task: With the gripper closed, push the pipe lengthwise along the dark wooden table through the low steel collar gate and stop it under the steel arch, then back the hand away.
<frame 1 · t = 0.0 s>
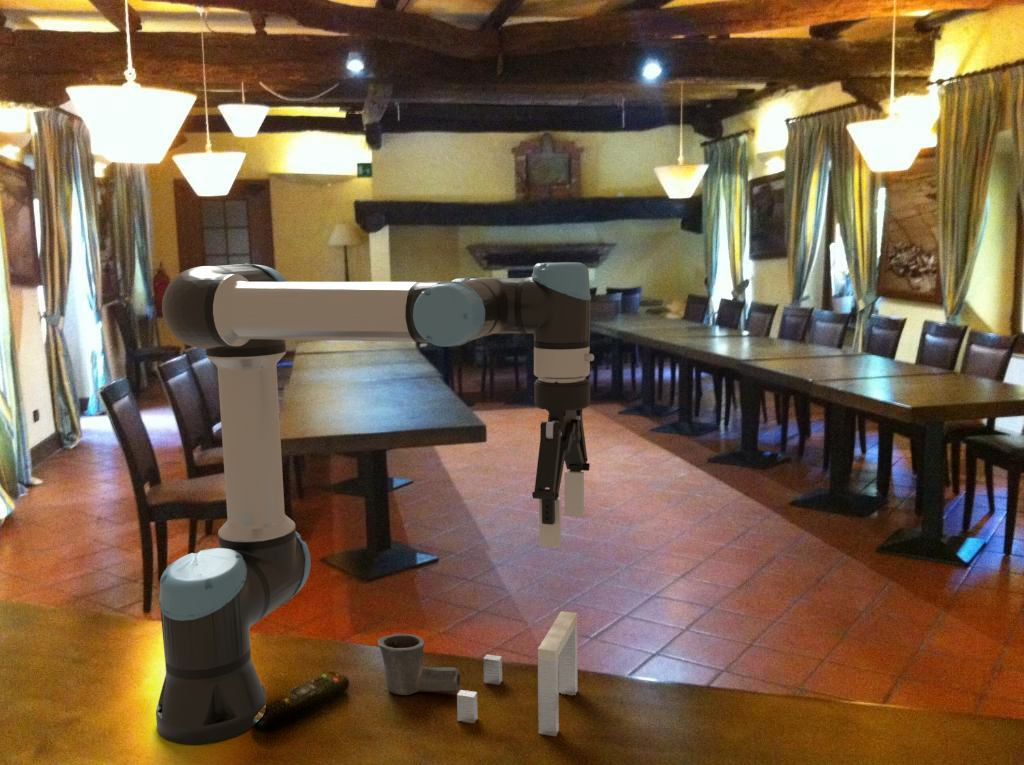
hand: (563, 530, 122), 28 cm above the table, tool pointing down, fingers open, 13 cm apart
pipe: (419, 692, 134), on the table
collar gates: (519, 705, 130), on the table
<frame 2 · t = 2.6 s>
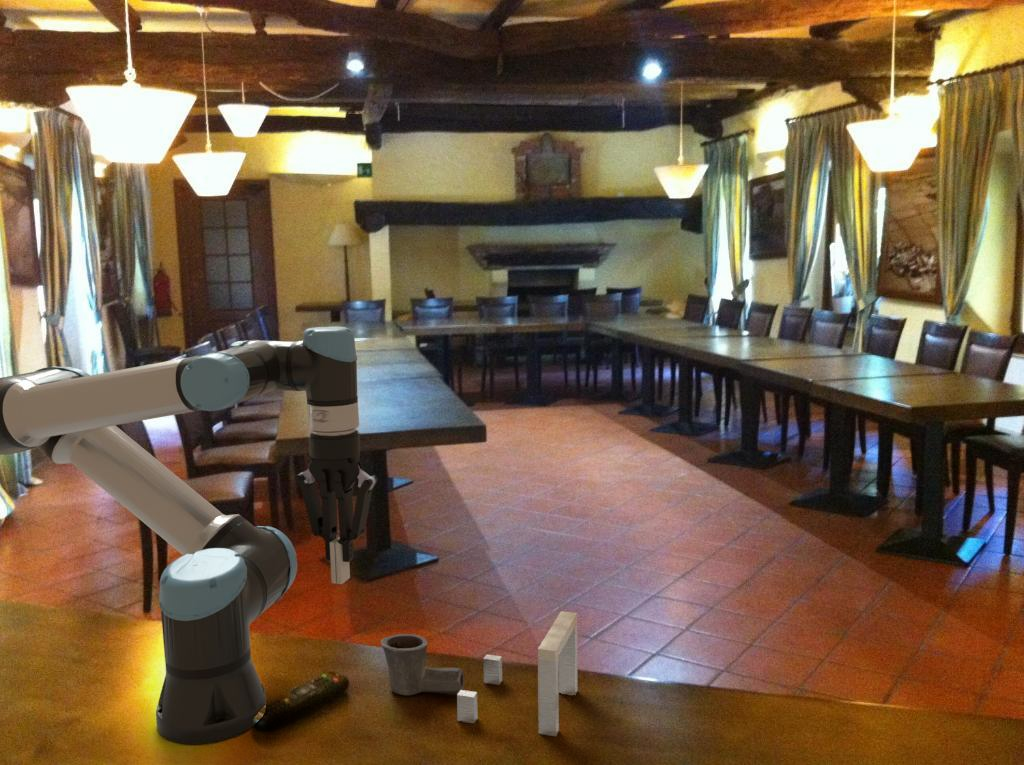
hand: (340, 580, 136), 16 cm above the table, tool pointing down, fingers closed
nothing on the table moved.
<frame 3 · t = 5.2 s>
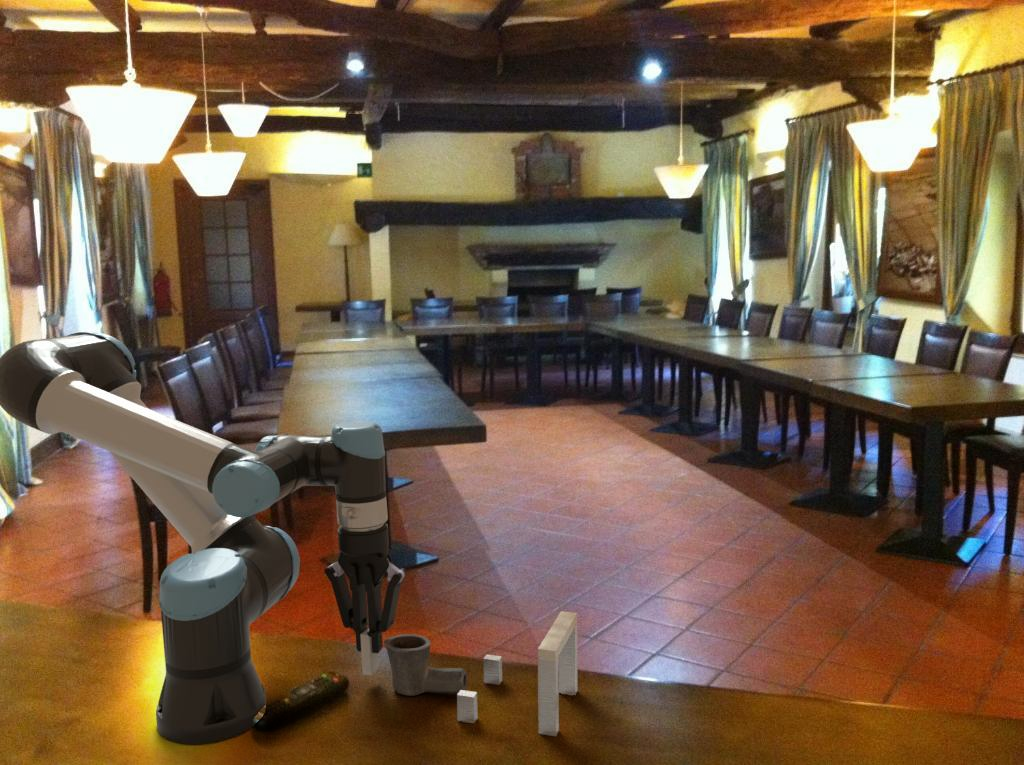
hand: (370, 670, 136), 2 cm above the table, tool pointing down, fingers closed
pipe: (425, 693, 134), on the table, touching gripper
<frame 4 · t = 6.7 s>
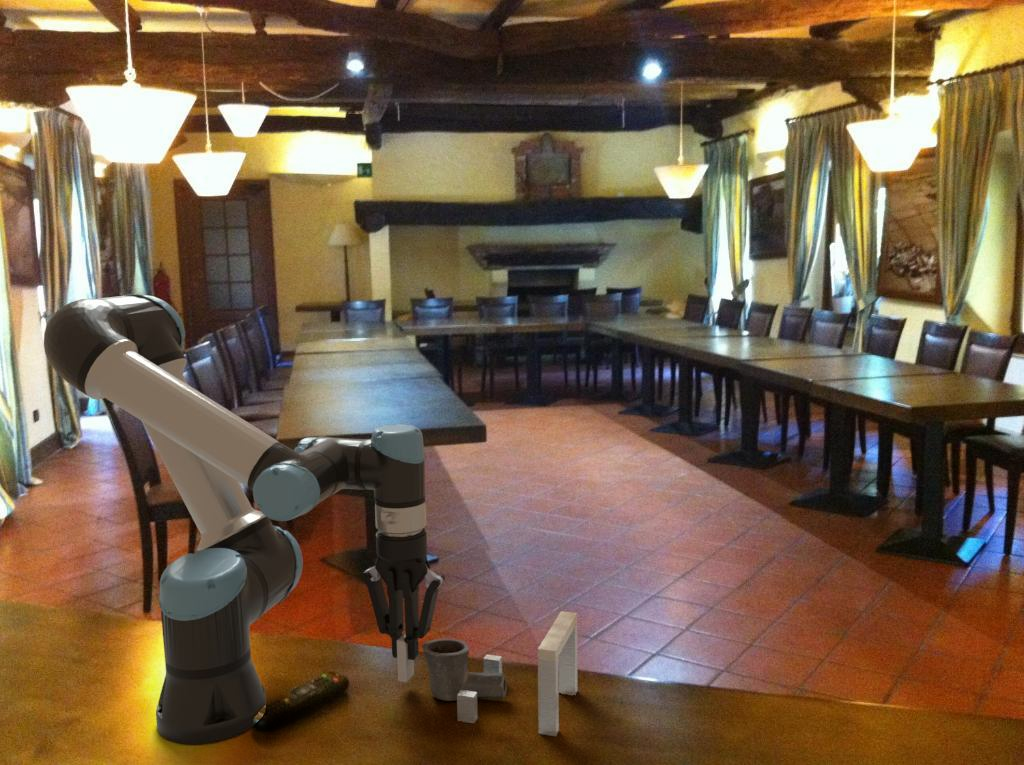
hand: (406, 677, 135), 2 cm above the table, tool pointing down, fingers closed
pipe: (464, 698, 132), on the table, touching gripper
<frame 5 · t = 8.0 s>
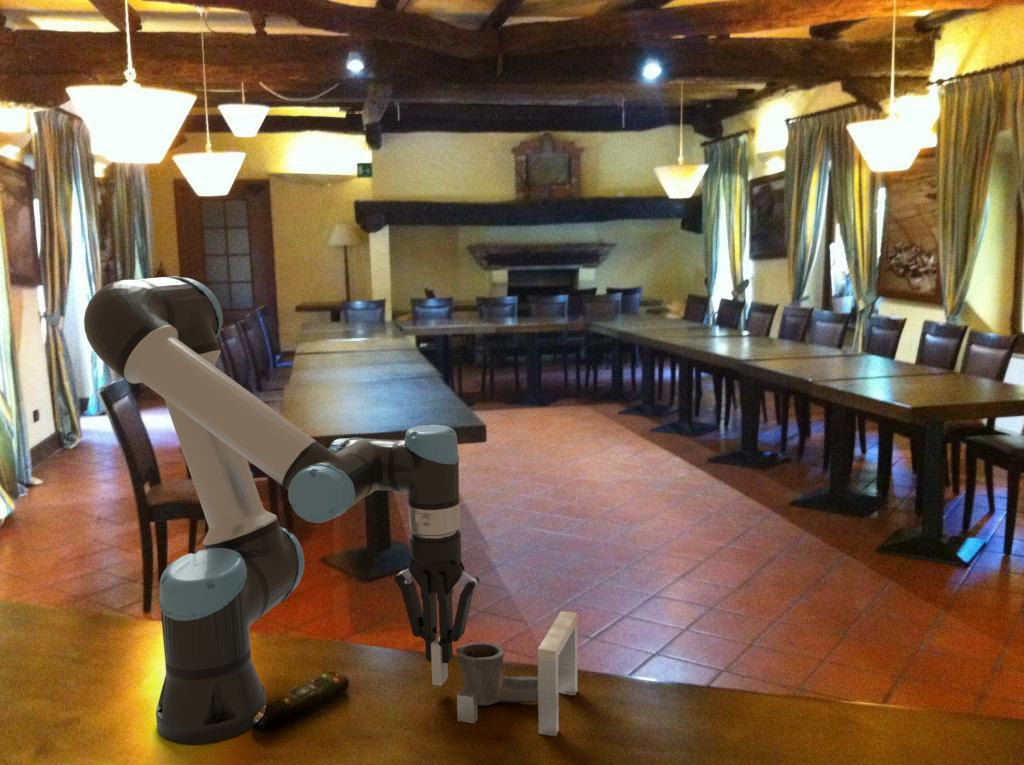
hand: (440, 680, 133), 2 cm above the table, tool pointing down, fingers closed
pipe: (498, 702, 131), on the table, touching gripper
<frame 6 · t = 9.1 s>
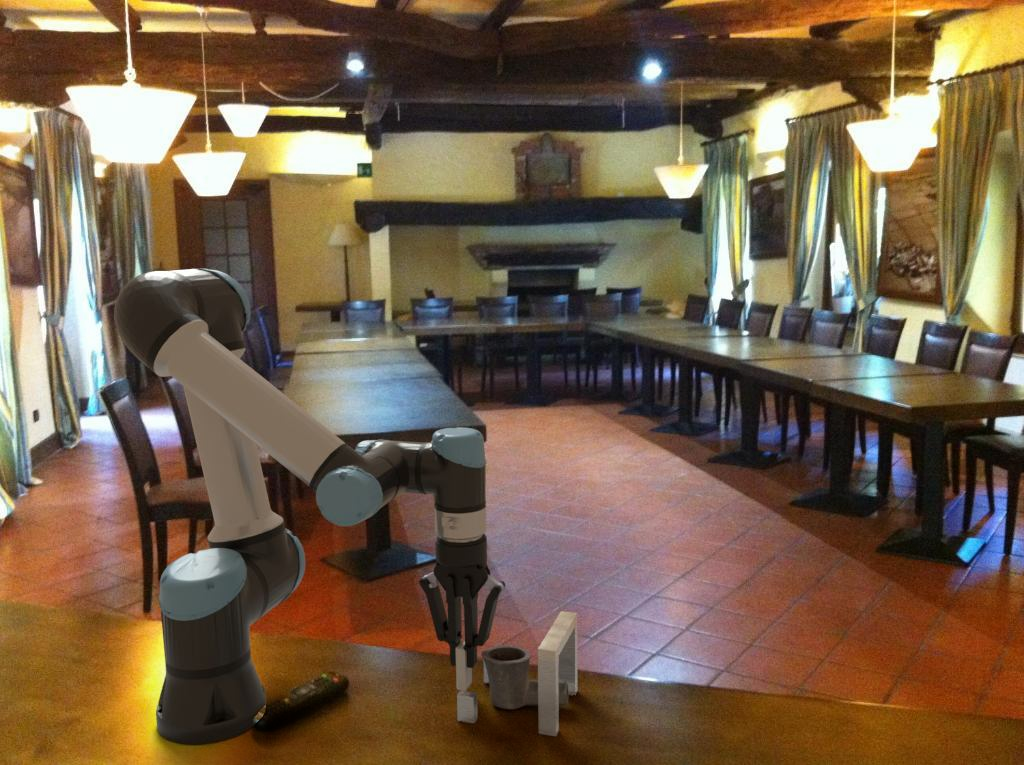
hand: (464, 685, 132), 2 cm above the table, tool pointing down, fingers closed
pipe: (524, 706, 130), on the table, touching gripper
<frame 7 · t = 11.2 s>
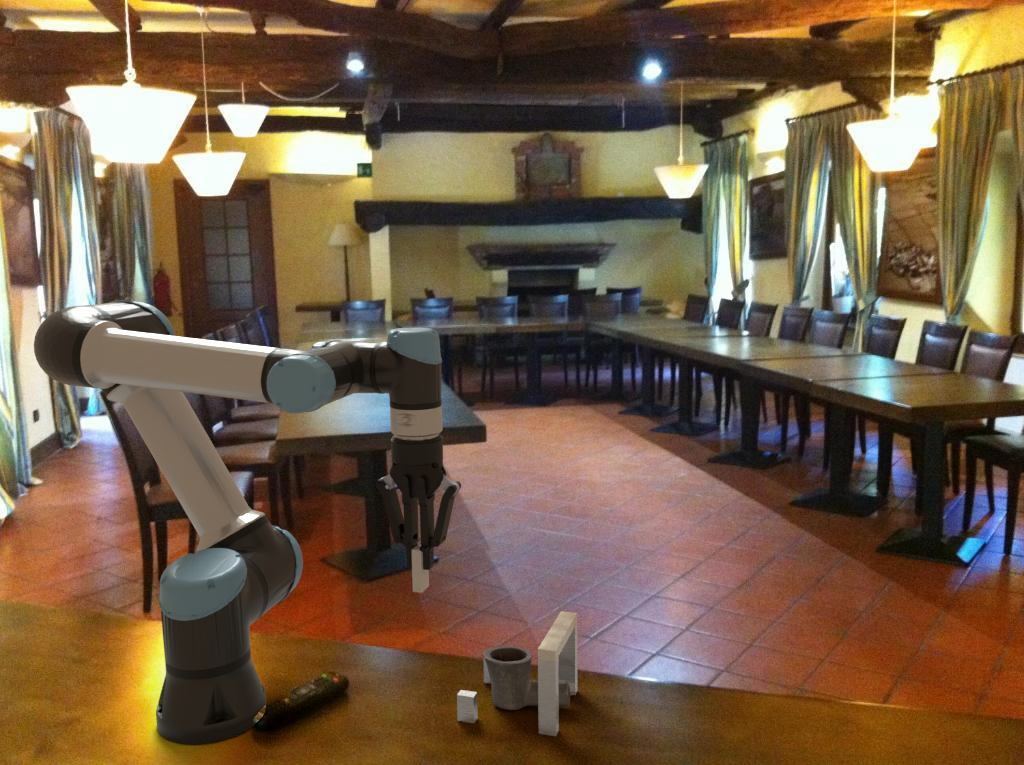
hand: (421, 588, 132), 16 cm above the table, tool pointing down, fingers closed
pipe: (526, 706, 130), on the table
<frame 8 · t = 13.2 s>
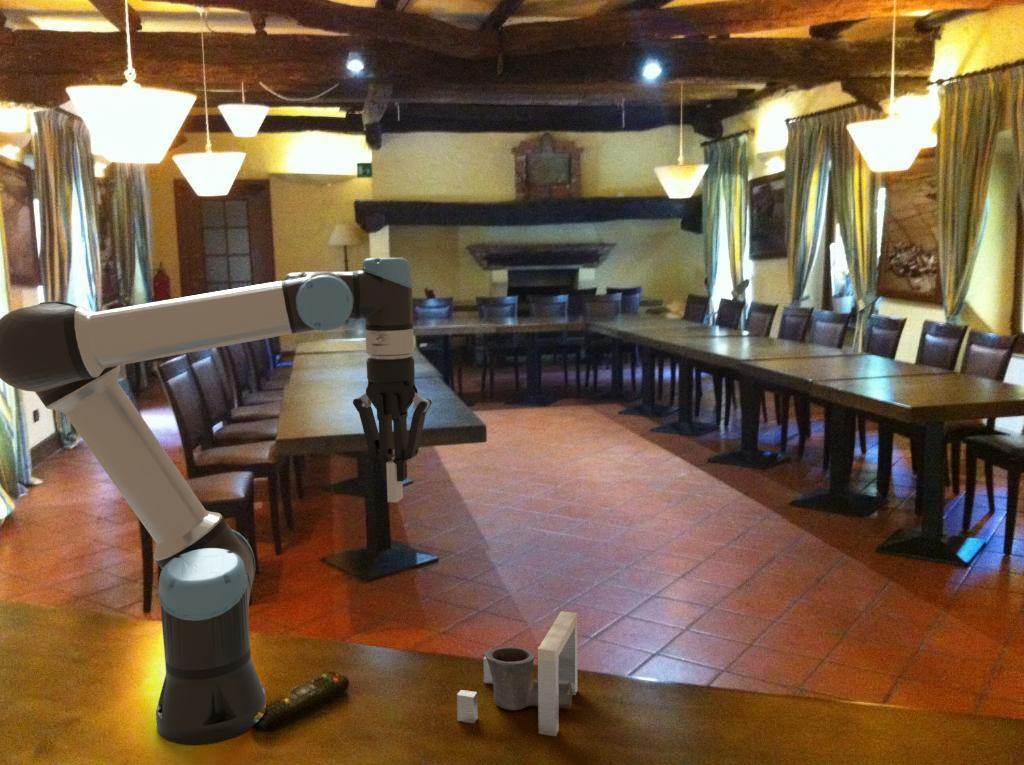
hand: (395, 499, 143), 26 cm above the table, tool pointing down, fingers closed
nothing on the table moved.
at the end: pipe 1.9 cm off-centre on the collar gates, point 0.0 cm above the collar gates's base; pipe tilted 0°; pipe moved 17.3 cm from its start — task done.
